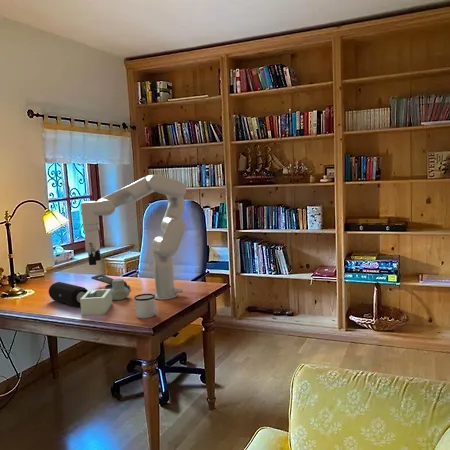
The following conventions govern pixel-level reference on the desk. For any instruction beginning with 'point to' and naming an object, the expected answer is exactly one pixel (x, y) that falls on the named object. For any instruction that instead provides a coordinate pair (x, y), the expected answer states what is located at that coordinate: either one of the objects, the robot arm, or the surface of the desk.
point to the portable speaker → (67, 293)
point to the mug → (145, 305)
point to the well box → (96, 302)
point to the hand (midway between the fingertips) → (95, 262)
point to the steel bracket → (93, 294)
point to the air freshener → (119, 290)
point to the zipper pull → (107, 281)
